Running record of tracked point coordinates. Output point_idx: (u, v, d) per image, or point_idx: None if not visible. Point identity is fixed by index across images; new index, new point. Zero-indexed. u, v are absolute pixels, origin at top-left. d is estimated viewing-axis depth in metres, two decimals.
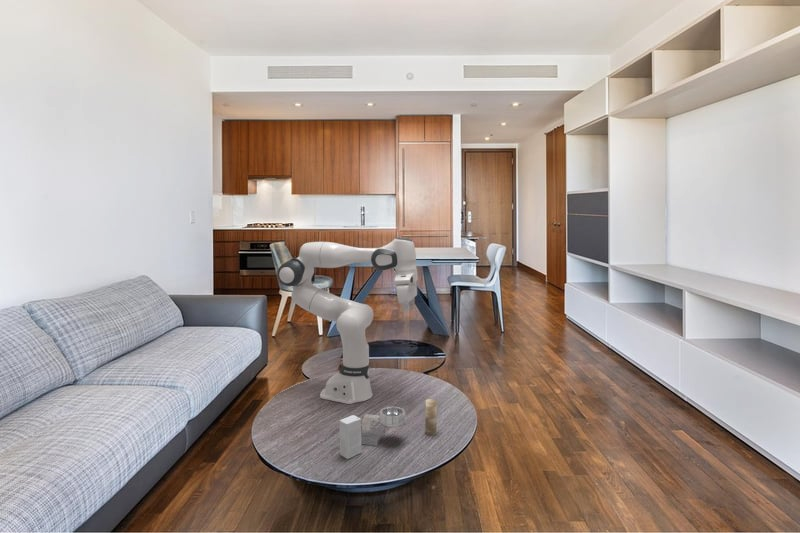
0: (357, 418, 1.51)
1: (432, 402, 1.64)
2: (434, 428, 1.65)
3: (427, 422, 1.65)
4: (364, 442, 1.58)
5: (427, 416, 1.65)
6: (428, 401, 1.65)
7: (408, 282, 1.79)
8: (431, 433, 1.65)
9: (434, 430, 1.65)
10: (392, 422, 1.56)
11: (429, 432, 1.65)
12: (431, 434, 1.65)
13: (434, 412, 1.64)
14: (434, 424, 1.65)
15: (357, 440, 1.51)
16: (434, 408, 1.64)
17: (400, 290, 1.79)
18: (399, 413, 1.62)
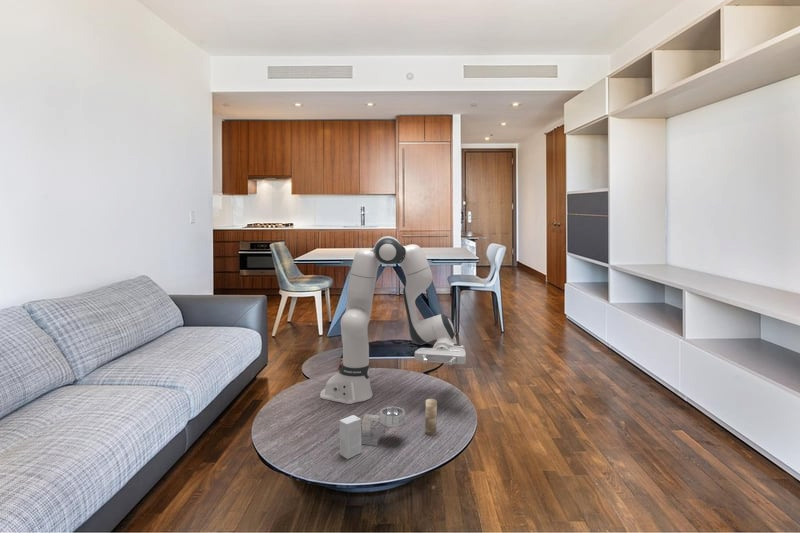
0: (357, 418, 1.51)
1: (432, 402, 1.64)
2: (434, 428, 1.65)
3: (427, 422, 1.65)
4: (364, 442, 1.58)
5: (427, 416, 1.65)
6: (428, 401, 1.65)
7: None
8: (431, 433, 1.65)
9: (434, 430, 1.65)
10: (392, 422, 1.56)
11: (429, 432, 1.65)
12: (431, 434, 1.65)
13: (434, 412, 1.64)
14: (434, 424, 1.65)
15: (357, 440, 1.51)
16: (434, 408, 1.64)
17: None
18: (399, 413, 1.62)
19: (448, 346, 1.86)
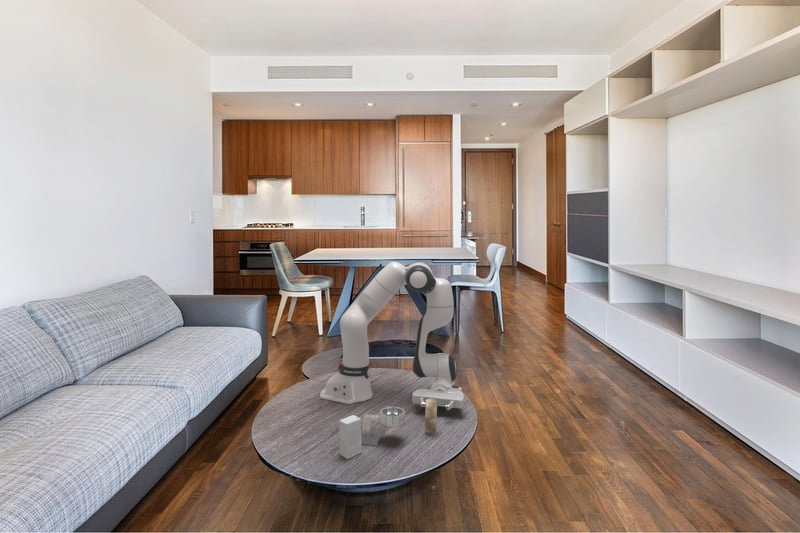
0: (357, 418, 1.51)
1: (432, 402, 1.64)
2: (434, 428, 1.65)
3: (427, 422, 1.65)
4: (364, 442, 1.58)
5: (427, 416, 1.65)
6: (428, 401, 1.65)
7: None
8: (431, 433, 1.65)
9: (434, 430, 1.65)
10: (392, 422, 1.56)
11: (429, 432, 1.65)
12: (431, 434, 1.65)
13: (434, 412, 1.64)
14: (434, 424, 1.65)
15: (357, 440, 1.51)
16: (434, 408, 1.64)
17: None
18: (399, 413, 1.62)
19: (446, 388, 1.86)
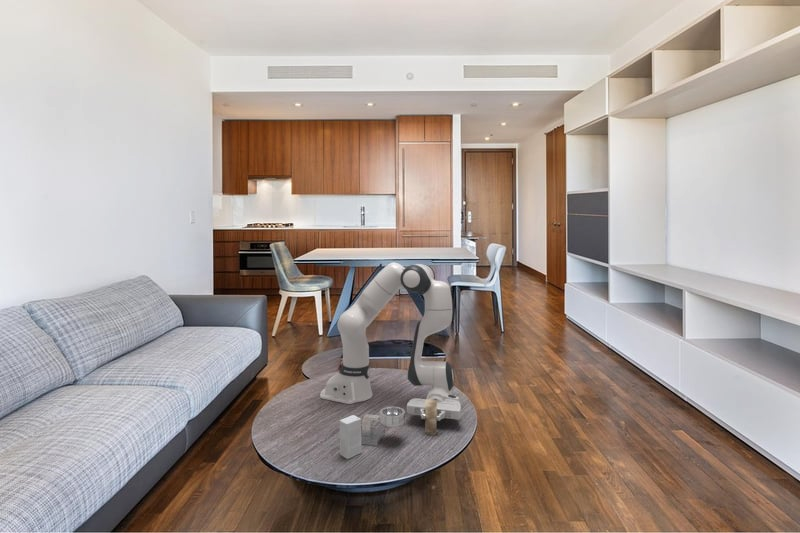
0: (357, 418, 1.51)
1: (432, 402, 1.64)
2: (434, 428, 1.65)
3: (427, 422, 1.65)
4: (364, 442, 1.58)
5: (427, 416, 1.65)
6: (428, 401, 1.65)
7: None
8: (431, 433, 1.65)
9: (434, 430, 1.65)
10: (392, 422, 1.56)
11: (429, 432, 1.65)
12: (431, 434, 1.65)
13: (434, 412, 1.64)
14: (434, 424, 1.65)
15: (357, 440, 1.51)
16: (434, 408, 1.64)
17: None
18: (399, 413, 1.62)
19: (442, 397, 1.76)
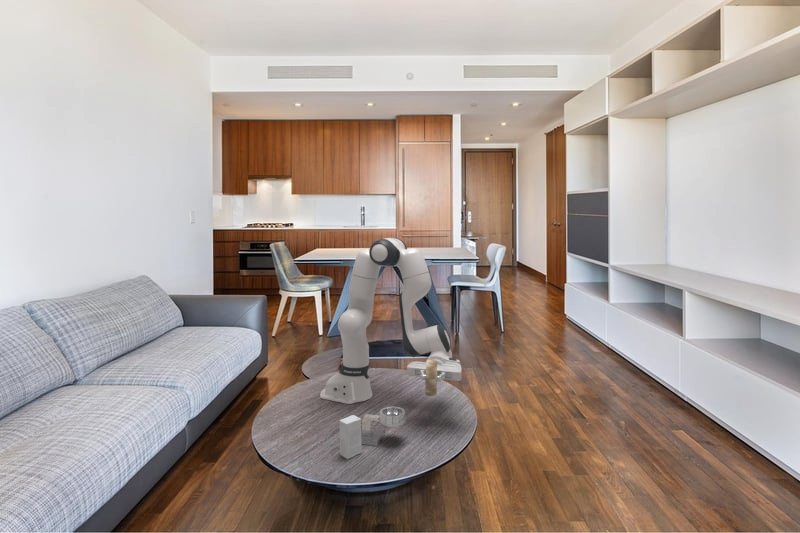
0: (357, 418, 1.51)
1: (432, 362, 1.62)
2: (434, 389, 1.63)
3: (427, 382, 1.63)
4: (364, 442, 1.58)
5: (427, 376, 1.63)
6: (428, 361, 1.63)
7: None
8: (431, 394, 1.63)
9: (434, 391, 1.63)
10: (392, 422, 1.56)
11: (429, 393, 1.63)
12: (431, 395, 1.63)
13: (434, 372, 1.62)
14: (434, 385, 1.63)
15: (357, 440, 1.51)
16: (434, 368, 1.62)
17: None
18: (399, 413, 1.62)
19: (443, 360, 1.74)
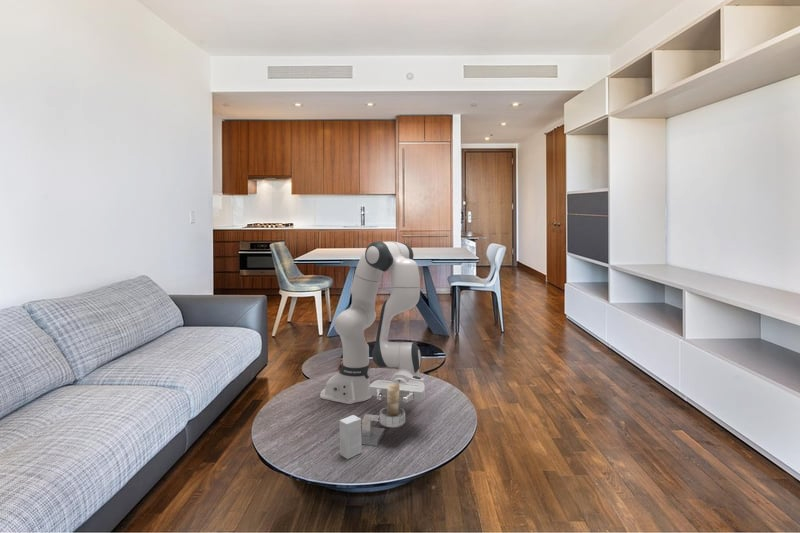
0: (357, 418, 1.51)
1: (394, 386, 1.57)
2: (396, 413, 1.58)
3: (388, 407, 1.58)
4: (364, 442, 1.58)
5: (389, 401, 1.58)
6: (390, 385, 1.58)
7: None
8: None
9: (396, 415, 1.58)
10: (392, 422, 1.56)
11: None
12: None
13: (396, 397, 1.57)
14: (395, 409, 1.58)
15: (357, 440, 1.51)
16: (396, 392, 1.57)
17: None
18: (399, 413, 1.62)
19: (407, 379, 1.69)
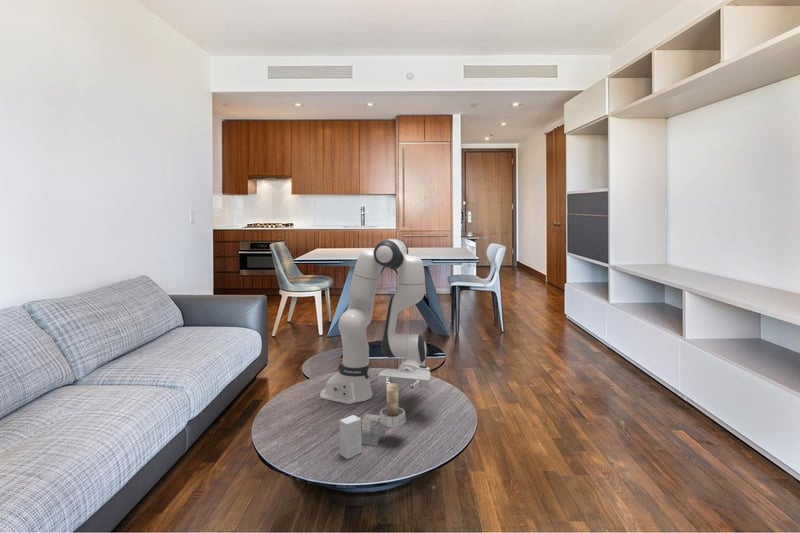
0: (357, 418, 1.51)
1: (393, 386, 1.57)
2: (395, 413, 1.58)
3: (388, 407, 1.58)
4: (364, 442, 1.58)
5: (388, 401, 1.58)
6: (389, 385, 1.58)
7: None
8: None
9: (395, 415, 1.58)
10: (392, 422, 1.56)
11: None
12: None
13: (395, 397, 1.57)
14: (395, 409, 1.58)
15: (357, 440, 1.51)
16: (395, 392, 1.57)
17: None
18: (399, 413, 1.62)
19: (413, 368, 1.81)
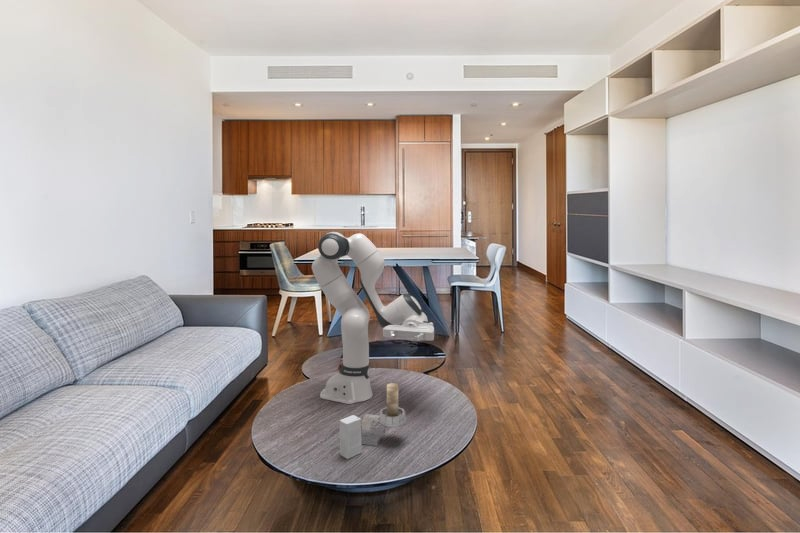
0: (357, 418, 1.51)
1: (393, 386, 1.57)
2: (395, 413, 1.58)
3: (388, 407, 1.58)
4: (364, 442, 1.58)
5: (388, 401, 1.58)
6: (389, 385, 1.58)
7: None
8: None
9: None
10: (392, 422, 1.56)
11: None
12: None
13: (395, 397, 1.57)
14: (395, 409, 1.58)
15: (357, 440, 1.51)
16: (395, 392, 1.57)
17: None
18: (399, 413, 1.62)
19: (417, 323, 1.84)
